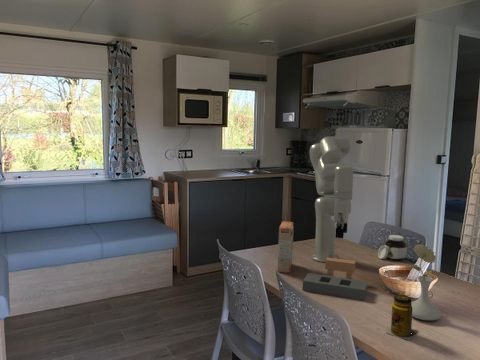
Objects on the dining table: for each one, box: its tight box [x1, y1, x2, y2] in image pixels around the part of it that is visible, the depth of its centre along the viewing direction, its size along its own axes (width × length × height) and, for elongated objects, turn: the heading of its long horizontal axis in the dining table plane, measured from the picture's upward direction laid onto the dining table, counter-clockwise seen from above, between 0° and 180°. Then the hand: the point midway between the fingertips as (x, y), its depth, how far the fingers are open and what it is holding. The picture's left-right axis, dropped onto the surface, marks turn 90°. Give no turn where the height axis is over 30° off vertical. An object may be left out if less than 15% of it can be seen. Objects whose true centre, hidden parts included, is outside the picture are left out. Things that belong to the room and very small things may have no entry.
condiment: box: [386, 294, 418, 341], centre depth 132 cm, size 7×8×12 cm
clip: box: [324, 257, 356, 279], centre depth 177 cm, size 4×12×9 cm, turn 67°
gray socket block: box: [302, 272, 368, 301], centre depth 166 cm, size 10×24×4 cm, turn 67°
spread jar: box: [377, 234, 408, 262], centre depth 208 cm, size 12×11×12 cm
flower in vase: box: [411, 244, 442, 321], centre depth 144 cm, size 13×11×25 cm
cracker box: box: [277, 221, 294, 274], centre depth 192 cm, size 14×6×21 cm, turn 168°
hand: (341, 235), depth 175 cm, fingers open, 9 cm apart
